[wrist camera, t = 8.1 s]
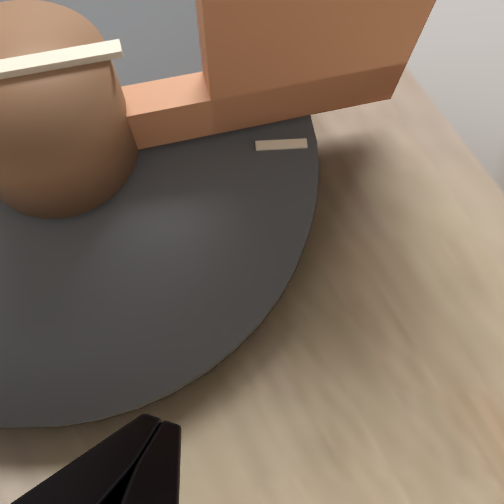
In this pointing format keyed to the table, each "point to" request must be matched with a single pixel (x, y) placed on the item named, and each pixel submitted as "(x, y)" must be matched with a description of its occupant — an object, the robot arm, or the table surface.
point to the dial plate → (151, 250)
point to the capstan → (178, 86)
